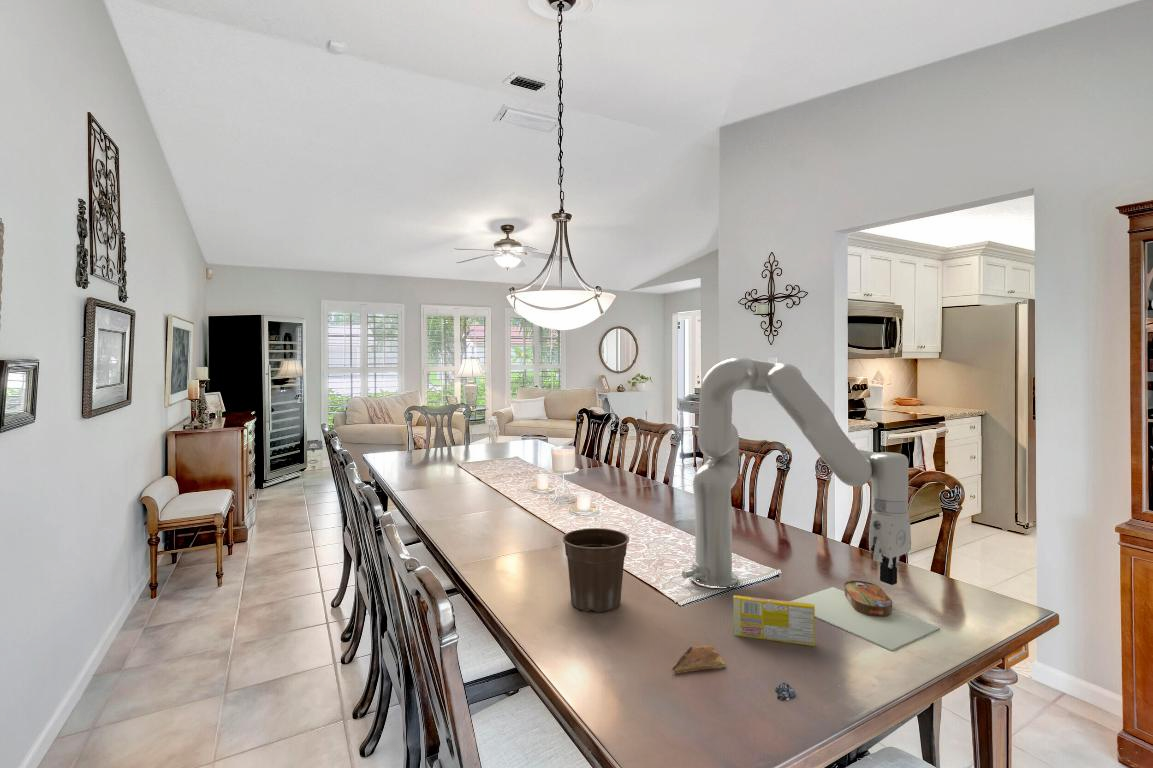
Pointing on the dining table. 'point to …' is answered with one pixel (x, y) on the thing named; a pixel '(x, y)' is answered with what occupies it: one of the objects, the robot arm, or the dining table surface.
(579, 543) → the plant pot
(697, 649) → the shard
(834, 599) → the placemat
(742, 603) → the candy box
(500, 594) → the dining table surface
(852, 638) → the dining table surface
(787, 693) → the blueberries
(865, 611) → the tin
